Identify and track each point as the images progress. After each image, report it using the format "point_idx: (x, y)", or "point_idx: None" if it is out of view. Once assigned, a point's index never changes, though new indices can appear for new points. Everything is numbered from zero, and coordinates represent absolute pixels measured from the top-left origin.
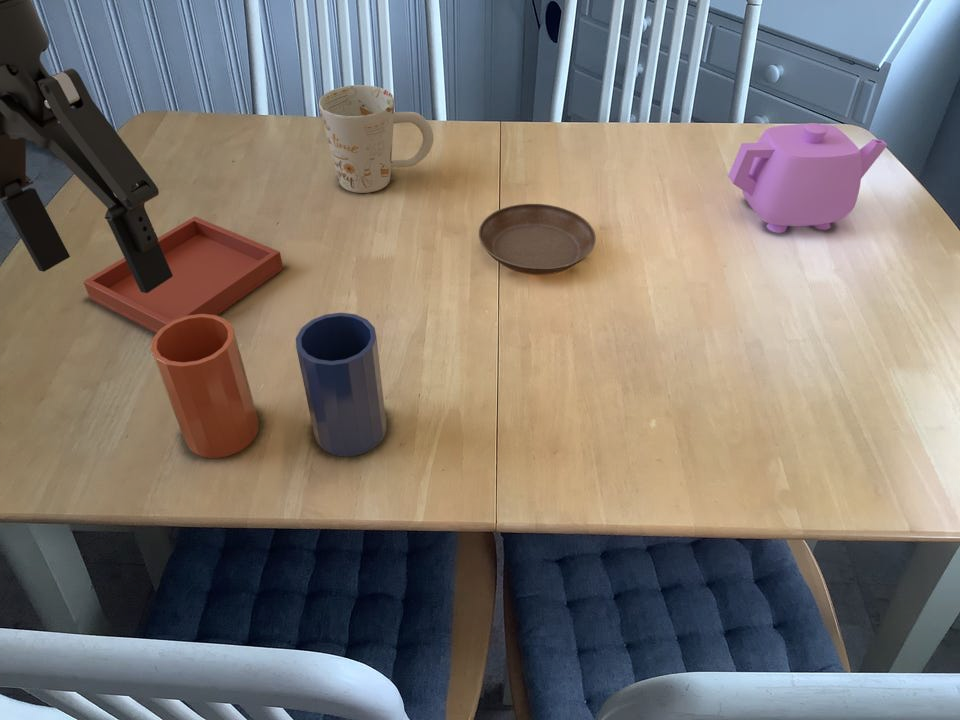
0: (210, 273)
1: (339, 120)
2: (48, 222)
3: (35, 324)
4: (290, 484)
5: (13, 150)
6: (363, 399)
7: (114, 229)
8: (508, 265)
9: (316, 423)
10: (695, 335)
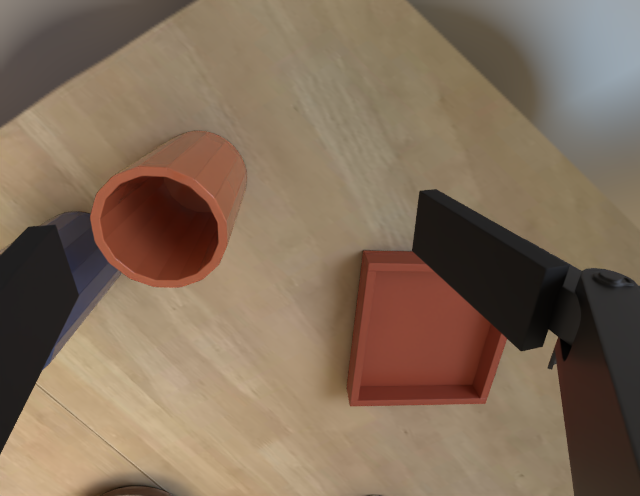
0: (410, 347)
1: None
2: (460, 287)
3: (548, 190)
4: (68, 153)
5: (595, 476)
6: None
7: None
8: (127, 491)
9: (62, 228)
10: None
